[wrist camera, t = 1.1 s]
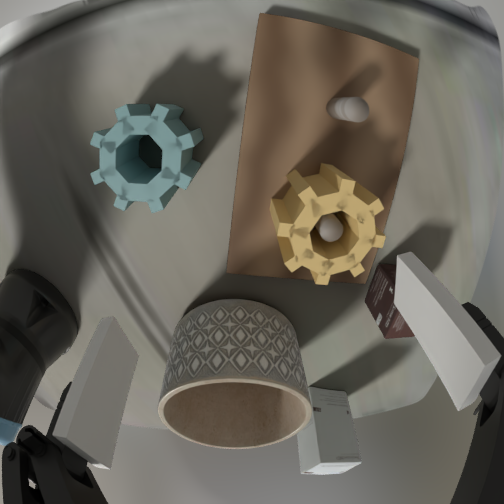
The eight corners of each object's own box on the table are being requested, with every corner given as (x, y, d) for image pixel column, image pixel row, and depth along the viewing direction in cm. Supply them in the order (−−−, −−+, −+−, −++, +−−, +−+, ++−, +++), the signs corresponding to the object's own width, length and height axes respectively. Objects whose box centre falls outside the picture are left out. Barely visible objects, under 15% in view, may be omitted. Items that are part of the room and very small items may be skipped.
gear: (116, 189, 28) (92, 209, 22) (119, 104, 23) (91, 106, 18) (199, 194, 28) (189, 216, 23) (207, 105, 24) (198, 105, 19)
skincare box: (346, 390, 46) (366, 460, 32) (328, 407, 48) (343, 474, 35) (306, 385, 44) (322, 463, 31) (289, 403, 46) (300, 476, 33)
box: (377, 261, 33) (404, 296, 27) (414, 264, 34) (443, 297, 27) (363, 301, 36) (383, 339, 29) (399, 302, 36) (422, 337, 30)
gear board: (227, 263, 32) (224, 302, 26) (258, 19, 20) (264, -7, 14) (359, 274, 34) (381, 310, 28) (409, 60, 22) (448, 55, 16)
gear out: (282, 259, 30) (291, 294, 25) (261, 177, 26) (267, 196, 21) (363, 238, 29) (386, 267, 24) (352, 156, 25) (380, 170, 20)
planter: (312, 353, 40) (330, 426, 29) (216, 387, 43) (214, 456, 32) (261, 270, 33) (272, 355, 22) (150, 321, 36) (126, 400, 25)
